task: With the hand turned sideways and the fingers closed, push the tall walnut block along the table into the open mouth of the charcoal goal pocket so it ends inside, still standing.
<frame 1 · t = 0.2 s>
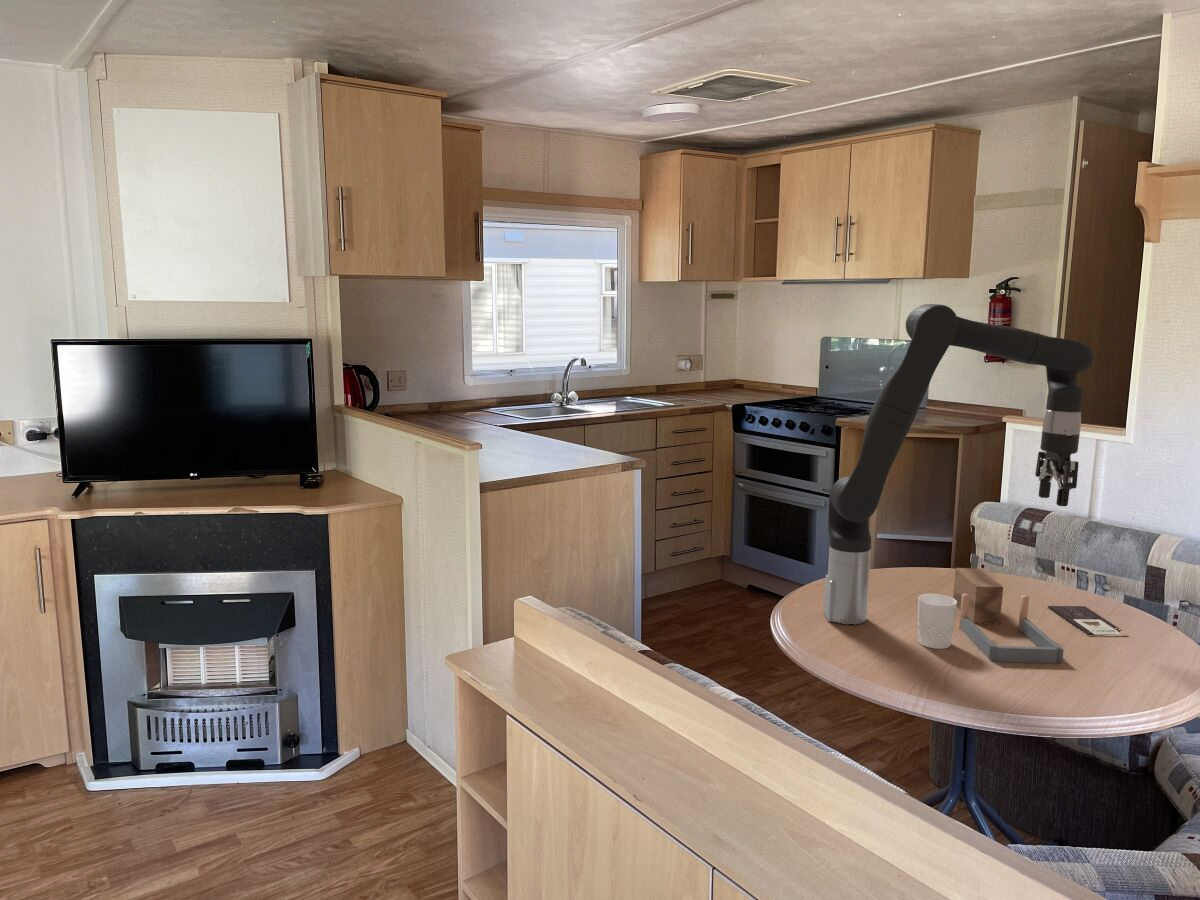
hand: (1052, 501, 204), 29 cm above the table, tool pointing down, fingers open, 8 cm apart
white cup: (933, 644, 197), on the table
goal pocket: (1007, 643, 197), on the table
chocolate bar: (1086, 624, 211), on the table
walnut block: (975, 613, 216), on the table
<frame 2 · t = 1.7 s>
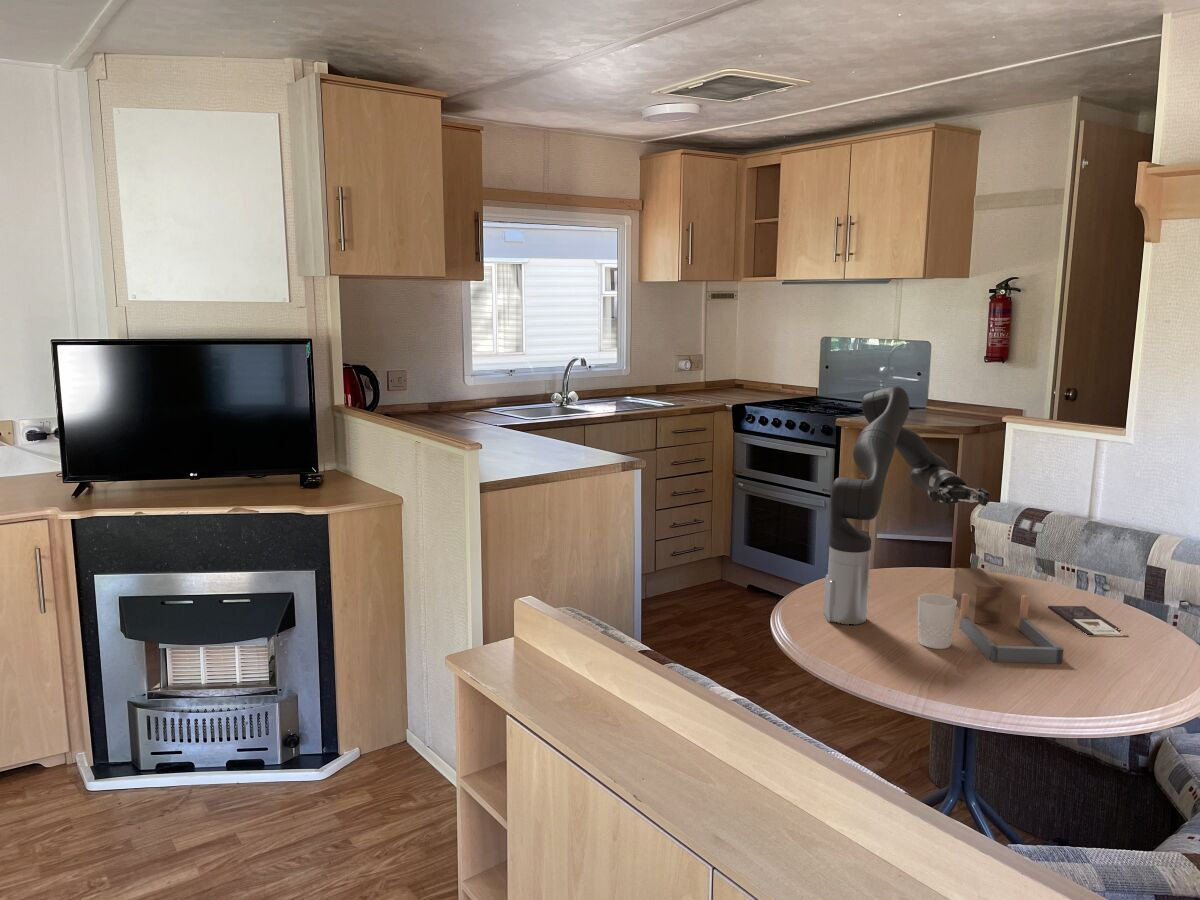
hand: (967, 501, 224), 24 cm above the table, tool horizontal, fingers open, 8 cm apart
nothing on the table moved.
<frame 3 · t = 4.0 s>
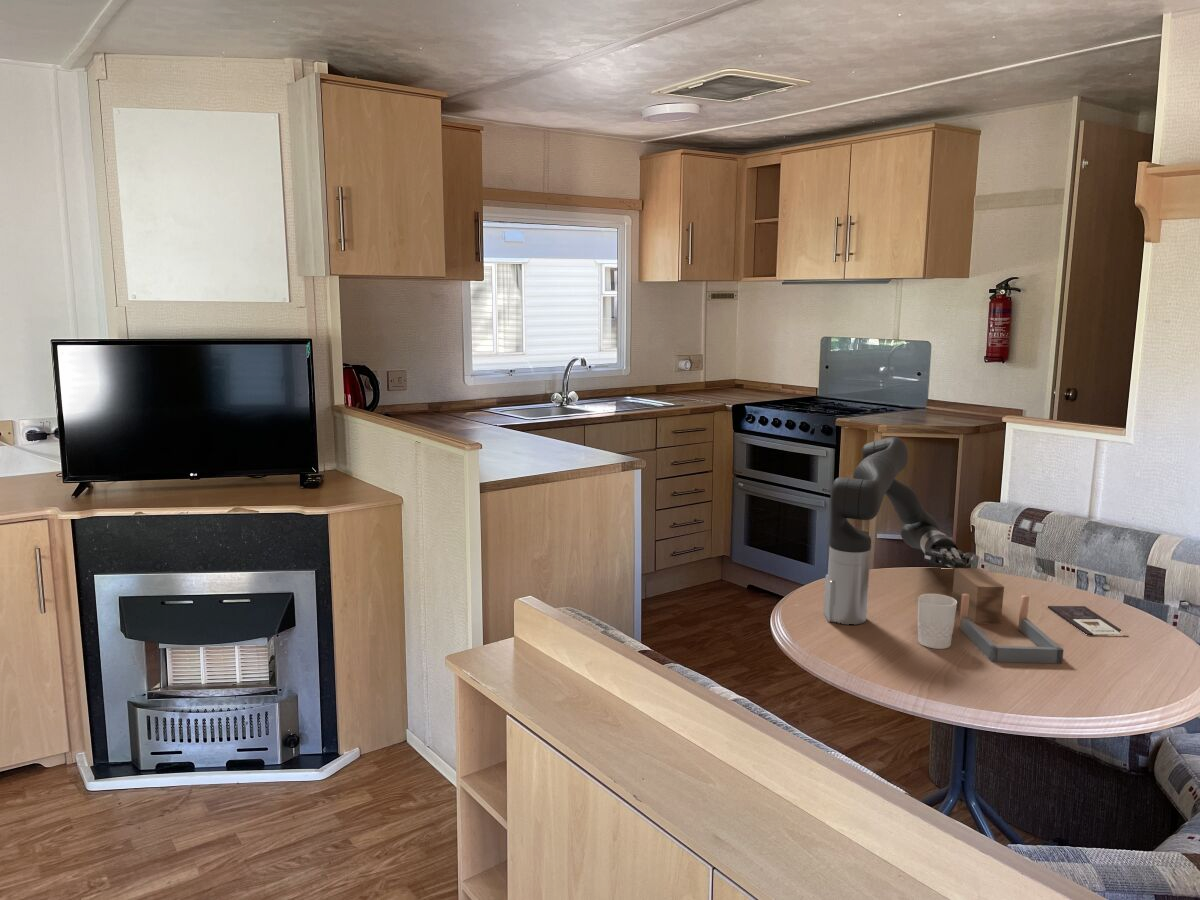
hand: (960, 567, 227), 7 cm above the table, tool horizontal, fingers closed
nothing on the table moved.
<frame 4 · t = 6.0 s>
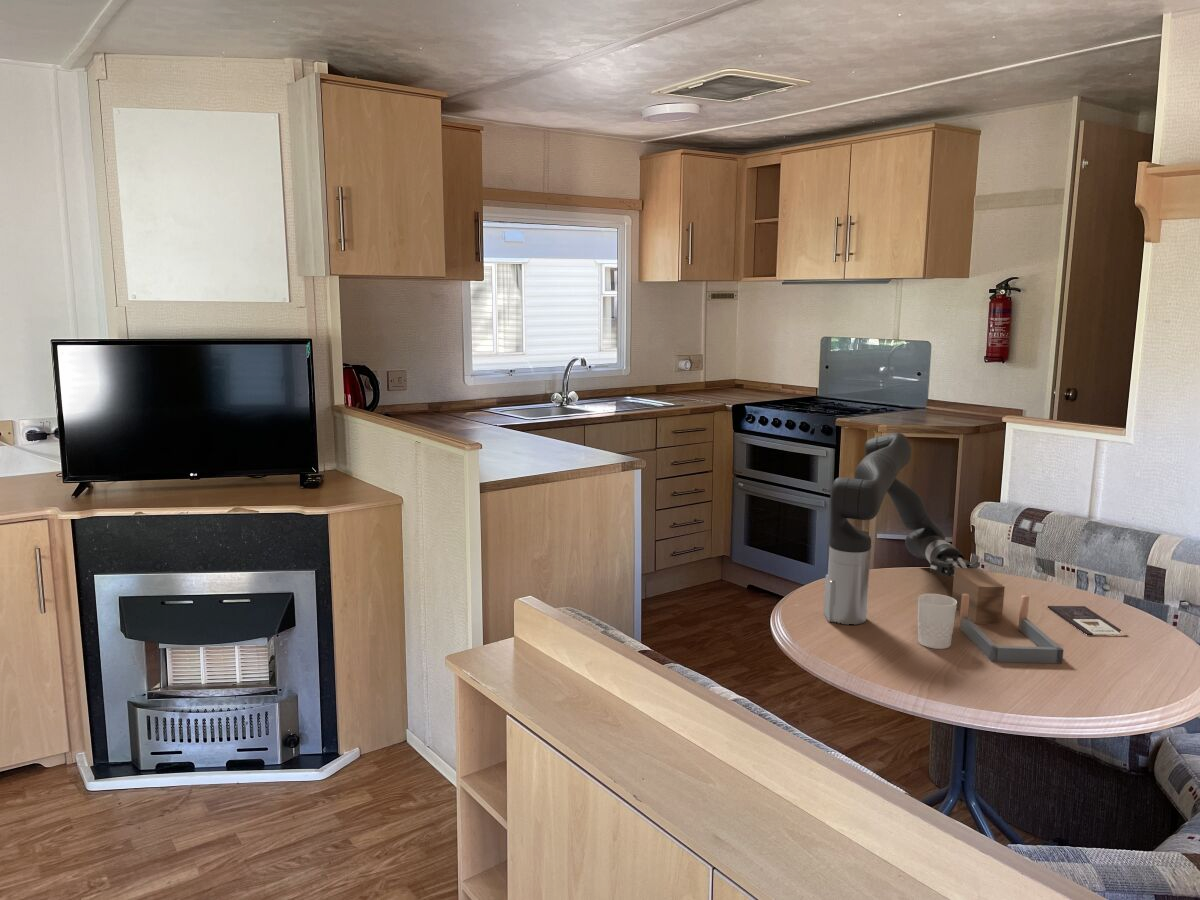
hand: (967, 577, 221), 6 cm above the table, tool horizontal, fingers closed
walnut block: (975, 613, 216), on the table, touching gripper
everything else where it was.
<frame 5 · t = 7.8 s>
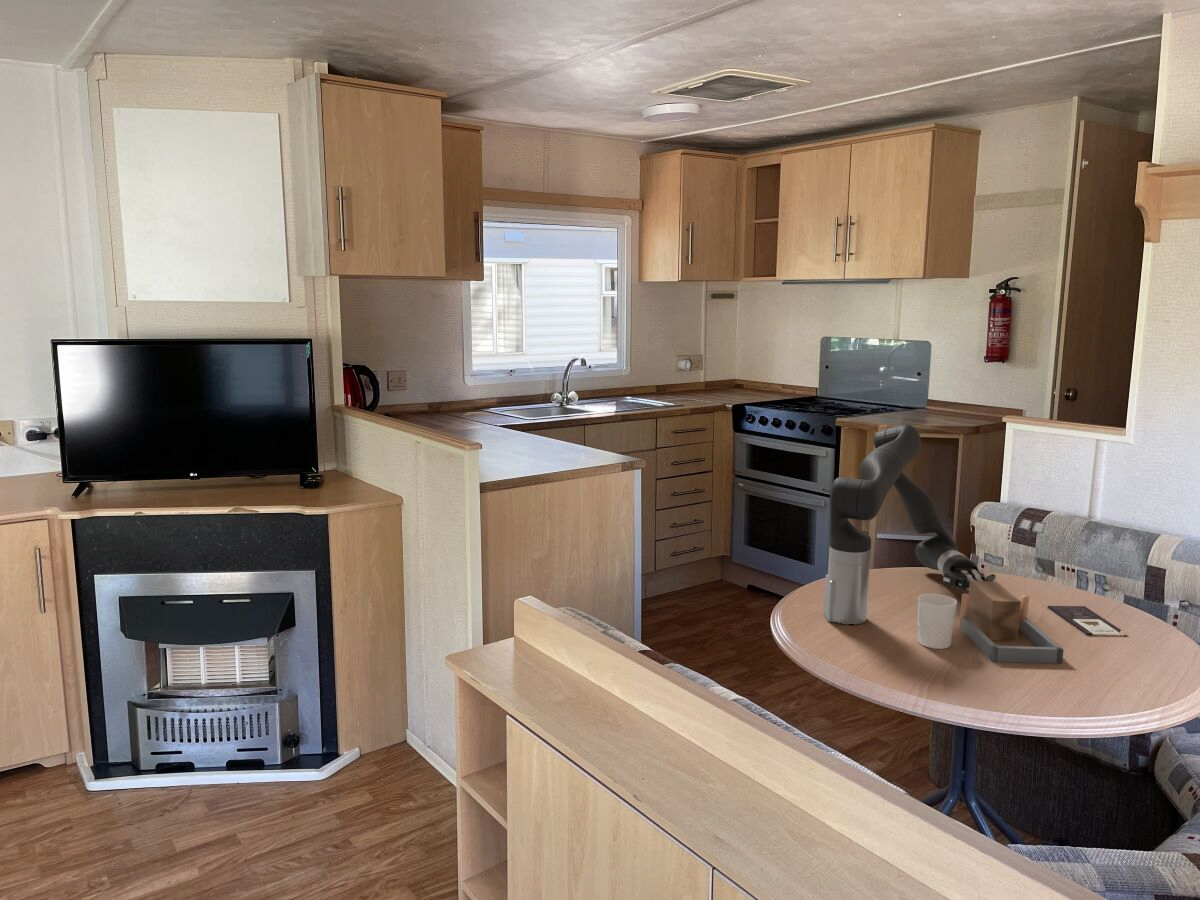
hand: (982, 591, 211), 7 cm above the table, tool horizontal, fingers closed
walnut block: (991, 628, 206), on the table, touching gripper
everything else where it was.
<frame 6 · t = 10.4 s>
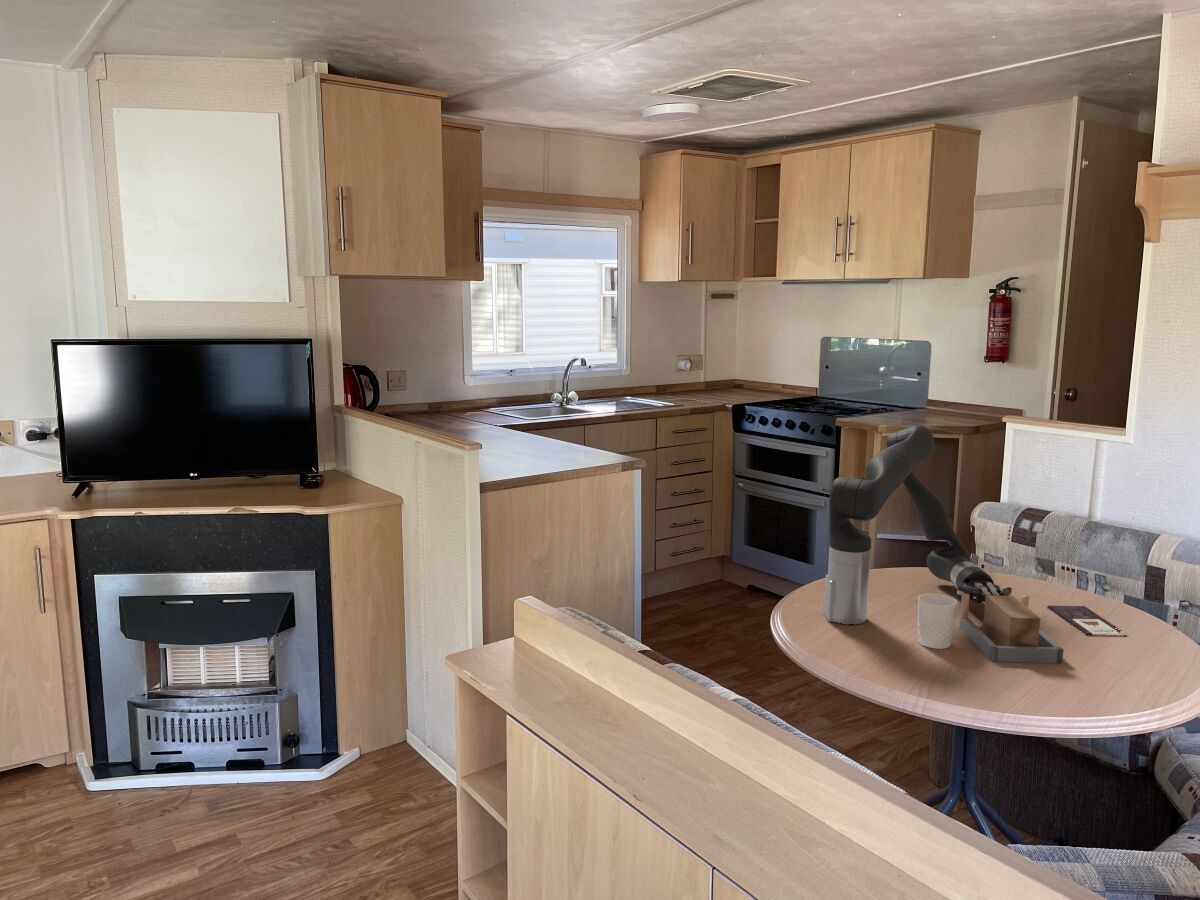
hand: (999, 605, 202), 7 cm above the table, tool horizontal, fingers closed
walnut block: (1008, 645, 196), on the table, touching gripper
everything else where it was.
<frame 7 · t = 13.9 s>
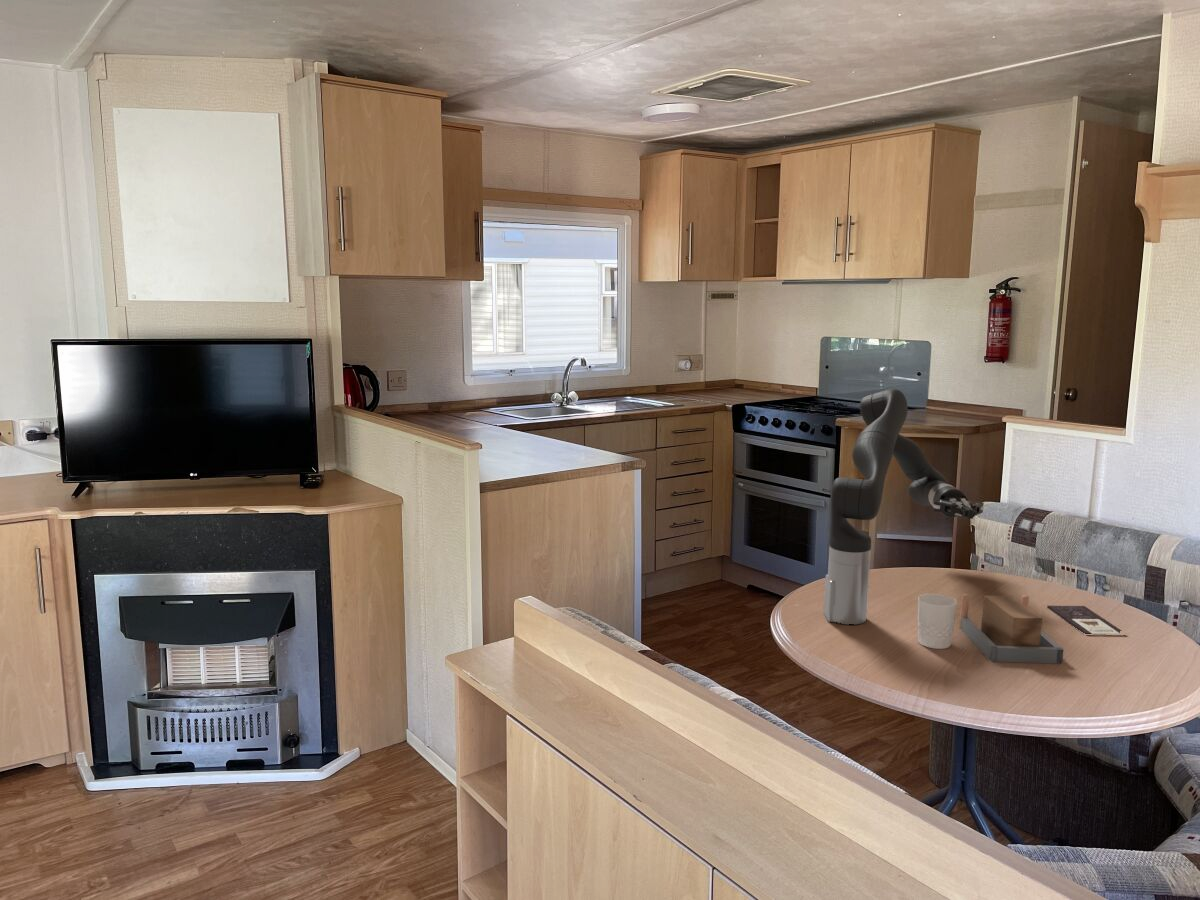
hand: (970, 514, 220), 22 cm above the table, tool horizontal, fingers closed
walnut block: (1008, 645, 196), on the table
everything else where it was.
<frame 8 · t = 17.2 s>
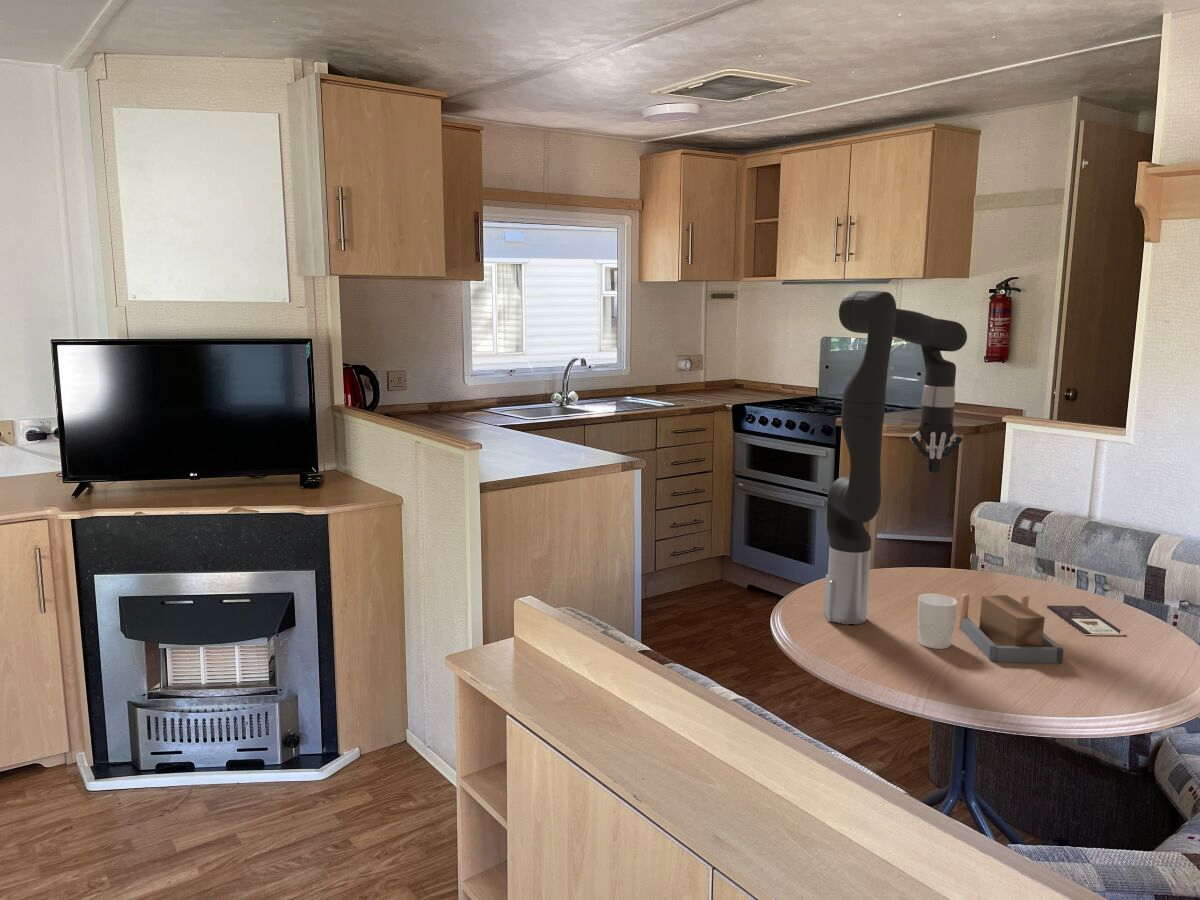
hand: (932, 473, 224), 31 cm above the table, tool pointing down, fingers closed
nothing on the table moved.
at the end: walnut block inside the target area on the goal pocket (1.0 cm from its centre), point 0.0 cm above the goal pocket's base; walnut block tilted 0° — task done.
